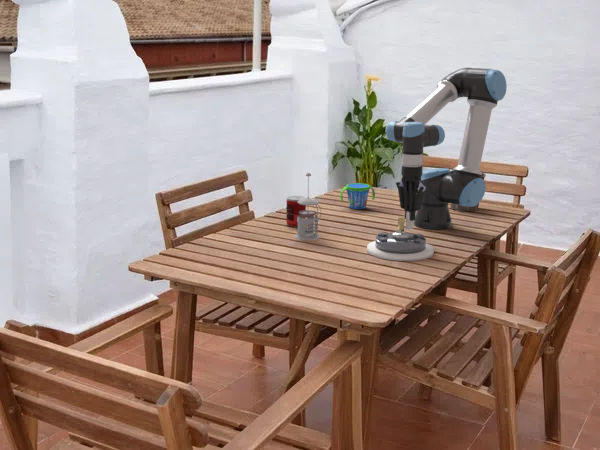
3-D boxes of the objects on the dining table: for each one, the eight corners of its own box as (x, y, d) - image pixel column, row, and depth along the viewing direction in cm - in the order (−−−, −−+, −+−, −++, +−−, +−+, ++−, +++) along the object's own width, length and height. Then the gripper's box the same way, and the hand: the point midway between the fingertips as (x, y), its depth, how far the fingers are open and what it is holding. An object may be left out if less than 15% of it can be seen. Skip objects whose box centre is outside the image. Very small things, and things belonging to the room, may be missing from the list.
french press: (289, 236, 324) (290, 172, 318) (309, 231, 332) (310, 168, 326) (308, 241, 317) (309, 176, 311) (328, 236, 326) (330, 172, 320)
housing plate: (420, 241, 320) (420, 236, 319) (443, 259, 297) (443, 253, 297) (359, 244, 315) (359, 239, 314) (378, 262, 292) (378, 256, 292)
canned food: (308, 222, 346) (308, 196, 343) (301, 227, 339) (302, 200, 336) (290, 221, 348) (290, 195, 346) (283, 225, 341) (283, 198, 338)
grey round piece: (426, 254, 296) (427, 229, 294) (374, 252, 298) (375, 227, 296) (424, 241, 313) (425, 217, 311) (375, 239, 315) (376, 215, 313)
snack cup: (342, 211, 368) (343, 188, 365) (337, 205, 378) (338, 183, 375) (377, 210, 370) (378, 187, 368) (371, 204, 380) (372, 182, 378)
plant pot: (488, 208, 378) (491, 172, 374) (475, 214, 364) (478, 178, 360) (454, 203, 386) (456, 168, 382) (440, 209, 373) (442, 173, 369)
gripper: (432, 166, 303) (429, 230, 308) (405, 161, 312) (402, 223, 318) (419, 168, 298) (416, 233, 304) (391, 164, 307) (389, 226, 313)
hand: (409, 228), depth 311 cm, fingers closed
